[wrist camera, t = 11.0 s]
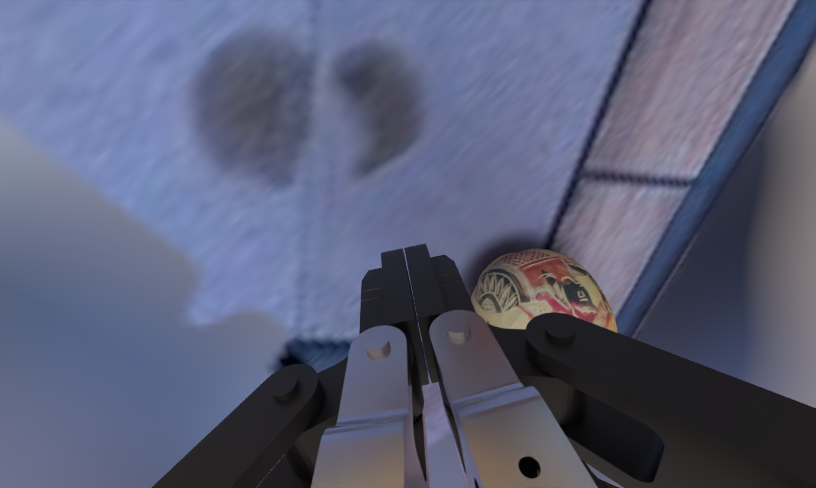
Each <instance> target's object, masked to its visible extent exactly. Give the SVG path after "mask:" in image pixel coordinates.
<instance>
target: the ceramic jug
mask: <svg viewBox="0 0 816 488" xmlns="http://www.w3.org/2000/svg"><path fill="white" fill-rule="evenodd" d="M471 302H472V304H473V307H474V309H475V311H476V313H477V314H478V315H480V316H481V317H482V318H483V319H484V320H485V321H486V323H488V324H490V325H493V326H496V327H500V328H507V329H526V326H527V324H528V323H529V321H530V320H531V319H532V318H534V317H536V316H538V315H540V314H544V313H550V312H557V313H565V314H569V315H572V316H575V317H577V318H580V319H583V320H585V321H588V322H591V323H593V324H596V325H598V326H601V327H604V328H606V329H609V330H612V331H614V332H617V327H616V322H615V319H614V315H613V312H612V310H611V308H610V305H609V302H608V301H607V299H606V297H605V295H604V294H603V292H602V290H601V289H600V287H599V286H598V284H597V283H596V281H595V280H594V279H593V277H592V276H591V275H590V274H589V273H588V272H587V271H586V270H585V269H584V268H583V267H582V266H581V265H580V264H578V263H577V262H576V261H574V260H573V259H571V258H569V257H568V256H566V255H563V254H561V253H558V252H554V251H551V250H549V249H539V248H531V249H527V250H523V251H520V252H512V253H507V254H504V255H501V256H500V257H498V258H497V259H495V260H494V261H492V262H491V263H490V264H489V265H488V266H487V267H486V269H485V270H484V271H483V272H482V273H481V275H480V276H479V279H478V282H477V284H476V287H475V289H474V290H473V293H472V295H471ZM617 333H618V332H617ZM580 460H581V459H580ZM581 461H582V463H583V465H584V466H585V468H586V469H587V471H588V473H589V474H590V476H591V478H592V479H593V481H594V482H595V484H596V486H597V487H598V488H619V487H616V486H614V485H612V484H609V483H607V482H605V481H603V480H600V479H598V478H597V477H596V476H595V475H594V474H593V472H592V471H591V470H590V469H589V467H588V466H587V464H586V463H585V462H584V461H583V460H581Z"/></svg>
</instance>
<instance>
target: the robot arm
mask: <svg viewBox="0 0 816 488" xmlns="http://www.w3.org/2000/svg"><path fill="white" fill-rule="evenodd" d="M405 254H406V259H407V265H408V270H409V275H410V280H409V275H408V271H407V266H406V261H405V257H404V252H403V248H402V249H397V250H392V251H388V252H383V253H381V260H382V268H378V269H374V270H369V271H368V272H367V274H366V275H365V277H364V278H363V280H362V287H361V292H362V293H361V311H360V334H359V336H357V338H356V339H355V340H354V341H353V343H352V344H351V346H350V350H349V355H348V357H346V358H345V359H344V360H342V361H341V362H339V363H338V364H336V365H334V366H332V367H330V368H328V369H325V370H323V371H321V372H319V373H316V371H315V370H314V369H313V368H312V367H311V366H309V365H306V364H294V365H290V366H287V367H284V368H282V369H280V370H278V371H277V372H275V373H274V374H272V375H271V376H270V377H269V378H267V379H266V380H265V381H264V382H263V383H262V384H261V385H260V386H259V387H258V388H257V389H256V390H255V391H254V392H253V393H252V394H251V395H249V396H248V397H247V398H246V399H245V400H244V401H243V402H242V403H241V404H240V405H239V406H238V407H237V408H236V409H235V410H233V411H232V412H231V413H230V414H229V415H228V416H227V417H226V418H225V419H224V420H223V421H222V422H221V423H220V424H219V425H218V426H217V427H215V428H214V429H213V430H212V431H211V432H210V433H209V434H208V435H207V436H206V437H205V438H204V439H203V440H202V441H201V442H200V443H198V444H197V445H196V446H195V447H194V448H193V449H192V450H191V451H190V452H189V453H188V454H187V455H186V456H185V457H184V458H183V459H181V460H180V461H179V462H178V463H177V464H176V465H175V466H174V467H173V468H172V469H171V470H170V471H169V472H168V473H167V474H166V475H164V476H163V477H162V478H161V479H160V480H159V481H158V482H157V483H156V484H155V485H154V486H153V487H152V488H256V487H257V486H258V485H259V486H258V487H257V488H430V480H429V466H428V452H427V439H426V425H425V413H424V408H423V407H424V398H423V391H422V385H426V384H429V380H428V374H427V369H426V364H425V358H424V353H423V347H422V342H421V337H422V341H423V346H424V350H425V355H426V360H427V364H428V369H429V373H430V378H431V383H435V382H439V386H440V390H441V395H442V399H443V404H444V409H445V413H446V416H447V420H448V423H449V426H450V430H451V433H452V436H453V439H454V443H455V446H456V449H457V453H458V455H459V459H460V462H461V466H462V469H463V472H464V476H465V479H466V483H467V486H468V488H598V487H597V486H596V484H595V482H594V481H593V479H592V478H591V476H590V474H589V473H588V471H587V469H586V468H585V466H584V465H583V463H582V461H581V460H583V461H584V462H586V463H587V464H589V465H590V466H592V467H593V468H595V469H596V470H598V471H600V472H601V473H602V474H604V475H605V476H607V477H608V478H610V479H611V480H613V481H615V482H616V483H618V484H619V485H621V486H622V487H624V488H816V408H813V407H811V406H808V405H806V404H803V403H800V402H798V401H795V400H792V399H790V398H787V397H784V396H782V395H779V394H777V393H774V392H772V391H769V390H766V389H763V388H761V387H758V386H756V385H753V384H751V383H748V382H745V381H742V380H740V379H737V378H734V377H732V376H730V375H727V374H724V373H721V372H719V371H716V370H714V369H711V368H708V367H706V366H703V365H701V364H698V363H695V362H693V361H690V360H688V359H685V358H682V357H680V356H677V355H674V354H672V353H669V352H666V351H664V350H661V349H659V348H656V347H653V346H651V345H648V344H646V343H643V342H640V341H638V340H635V339H632V338H630V337H627V336H625V335H622V334H619V333H617V332H614V331H612V330H609V329H606V328H604V327H601V326H598V325H596V324H593V323H591V322H588V321H585V320H583V319H580V318H577V317H575V316H572V315H569V314H565V313H557V312H550V313H544V314H540V315H538V316H536V317H534V318H532V319H531V320H530V321H529V323H528V324H527V326H526V329H507V328H500V327H496V326H493V325H490V324H488V323H486V321H485V320H484V319H483V318H482V317H481V316H480V315H478V314H477V313H476V311H475V309H474V307H473V304H472V302H471V300H470V297H469V295H468V293H467V290H466V288H465V286H464V283H463V281H462V279H461V276H460V274H459V272H458V269H457V267H456V265H455V262H454V261H453V260H451V259H450V258H448V257H447V256H446V255H441V256H436V257H431V258H430V256H429V252H428V249H427V246H426V244H421V245H416V246H411V247H407V248H405ZM410 281H411V284H410ZM411 286H412V289H411ZM412 291H413V294H412ZM413 297H414V299H413ZM414 302H415V304H414ZM415 307H416V309H415ZM416 313H417V315H416ZM417 318H418V320H417ZM418 323H419V326H418ZM419 327H420V331H419ZM420 332H421V336H420ZM283 455H284V456H283ZM282 456H283V457H282ZM280 459H281V460H280ZM580 459H581V460H580ZM279 460H280V461H279ZM278 461H279V462H278ZM277 462H278V463H277ZM274 466H275V467H274ZM273 467H274V468H273ZM272 468H273V469H272ZM271 469H272V470H271ZM269 472H270V473H269ZM268 473H269V474H268ZM267 474H268V475H267ZM266 475H267V476H266ZM264 478H265V479H264ZM263 479H264V480H263ZM262 480H263V481H262ZM261 481H262V482H261Z"/></svg>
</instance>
